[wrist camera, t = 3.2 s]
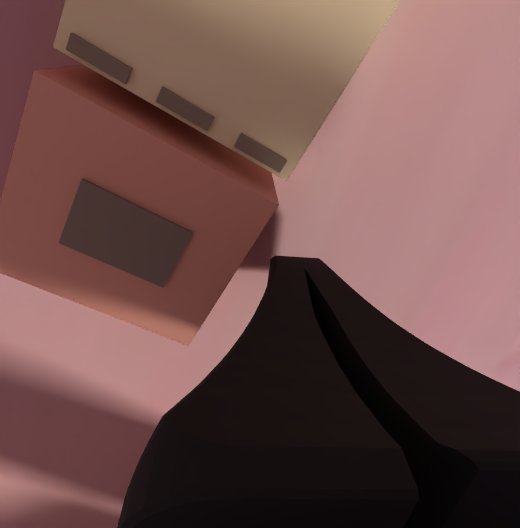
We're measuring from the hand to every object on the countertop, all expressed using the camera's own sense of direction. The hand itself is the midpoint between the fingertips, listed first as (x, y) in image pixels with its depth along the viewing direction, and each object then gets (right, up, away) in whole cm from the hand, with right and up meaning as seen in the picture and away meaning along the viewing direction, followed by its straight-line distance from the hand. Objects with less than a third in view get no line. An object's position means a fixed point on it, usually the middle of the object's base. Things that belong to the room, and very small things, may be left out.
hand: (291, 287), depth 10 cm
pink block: (-4, +3, 0) cm, 5 cm away
